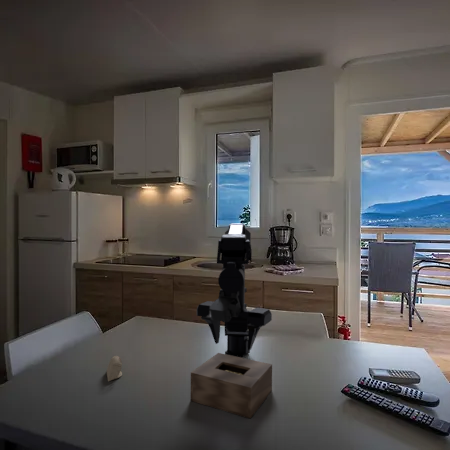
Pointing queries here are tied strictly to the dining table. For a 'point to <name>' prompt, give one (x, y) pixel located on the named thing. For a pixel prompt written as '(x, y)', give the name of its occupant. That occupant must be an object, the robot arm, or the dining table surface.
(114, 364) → the decorative ornament
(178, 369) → the dining table surface
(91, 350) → the dining table surface
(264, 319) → the robot arm
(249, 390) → the walnut box
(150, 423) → the dining table surface
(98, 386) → the dining table surface
